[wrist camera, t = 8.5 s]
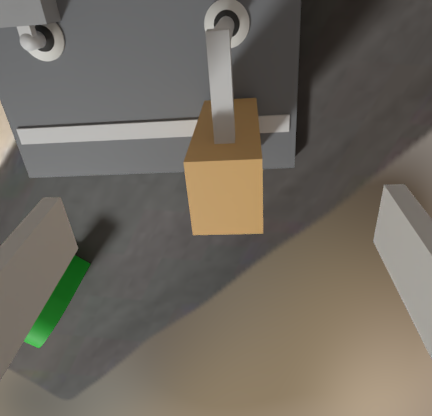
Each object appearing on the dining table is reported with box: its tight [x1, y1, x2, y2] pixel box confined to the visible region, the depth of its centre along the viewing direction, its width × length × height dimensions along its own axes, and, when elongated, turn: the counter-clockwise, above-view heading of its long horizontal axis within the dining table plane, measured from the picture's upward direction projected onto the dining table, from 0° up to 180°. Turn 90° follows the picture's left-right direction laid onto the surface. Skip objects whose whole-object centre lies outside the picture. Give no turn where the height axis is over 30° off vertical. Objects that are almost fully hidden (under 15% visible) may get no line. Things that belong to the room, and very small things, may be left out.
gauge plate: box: [0, 0, 301, 178], centre depth 25 cm, size 13×21×4 cm, turn 94°
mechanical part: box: [24, 255, 90, 348], centre depth 35 cm, size 12×6×8 cm, turn 143°
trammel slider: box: [183, 16, 263, 235], centre depth 20 cm, size 9×4×10 cm, turn 4°
